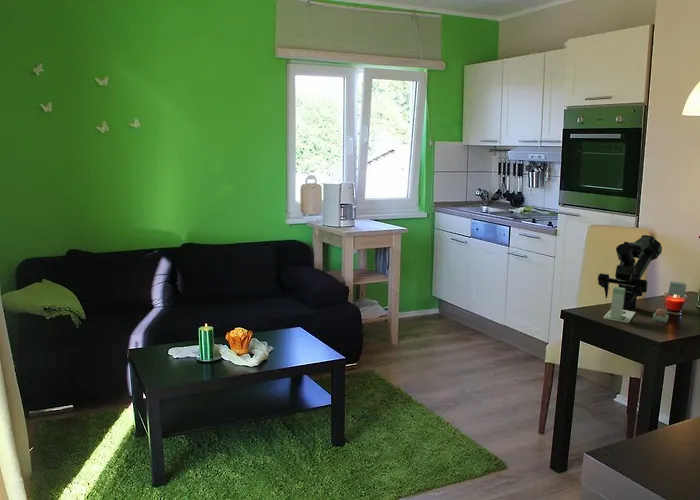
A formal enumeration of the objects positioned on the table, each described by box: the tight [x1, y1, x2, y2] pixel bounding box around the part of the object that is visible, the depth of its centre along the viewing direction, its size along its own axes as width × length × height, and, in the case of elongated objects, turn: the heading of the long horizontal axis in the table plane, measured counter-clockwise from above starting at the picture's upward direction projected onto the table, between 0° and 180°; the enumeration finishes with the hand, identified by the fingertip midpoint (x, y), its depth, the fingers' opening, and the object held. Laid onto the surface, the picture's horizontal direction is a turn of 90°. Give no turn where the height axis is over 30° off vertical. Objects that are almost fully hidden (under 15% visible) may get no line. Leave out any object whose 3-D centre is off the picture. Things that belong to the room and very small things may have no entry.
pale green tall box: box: [609, 286, 626, 319], centre depth 252 cm, size 4×4×12 cm
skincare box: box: [667, 281, 687, 298], centre depth 269 cm, size 6×4×12 cm
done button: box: [655, 308, 667, 316], centre depth 253 cm, size 4×4×2 cm
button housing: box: [652, 312, 669, 324], centre depth 253 cm, size 5×5×2 cm
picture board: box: [602, 308, 636, 324], centre depth 257 cm, size 18×10×1 cm, turn 147°
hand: (618, 299), depth 252 cm, fingers open, 9 cm apart
